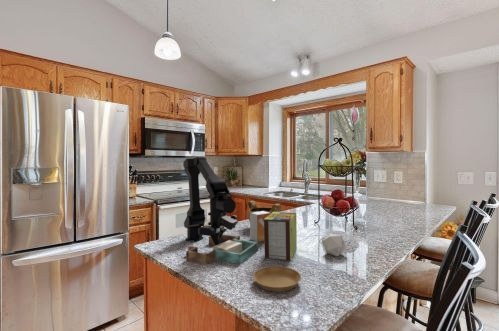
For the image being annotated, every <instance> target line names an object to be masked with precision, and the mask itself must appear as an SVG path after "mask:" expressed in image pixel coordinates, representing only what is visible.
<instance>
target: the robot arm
mask: <svg viewBox="0 0 499 331" xmlns="http://www.w3.org/2000/svg"><path fill="white" fill-rule="evenodd" d="M182 167H183V168H184V169H183V170H184V173H185V174H186V175H187V178H188V190H189V191H188V194H189V195H188V196H189V208H188V210H187V212H186V218H185V219H184V221H183V227H184V228H185V229H187V230H186V232H187V233H186V234H187V235H186V236H187V237H186V238H185V241H189V242H198V241H200V240H203V239H204V236H206V237H209V236H210V237H211V238H212V240H213V242H214V244H215V245H214V246H216V245H218V244H220V242H221V238H222V235H223V234H224V233H225V232H227V230H228V231H231V230H233V229H235V228H236V225H237V224H238V223H239V222H238V216H237V215H236V214H234V215H232V216H230V215H229V216H228V215H227V214H232V213H234V211H235V210H236V206H237V204H236V201H235V200H234V199H232V195H231V194H230V192H231V191H230V190H229V188H228V185H227V182H226V181H225V180H224V179H223V178H222V177H221V176H218V175H217V174H216V173H215V171H214V170H213V169H212V167H211V165H210V164H209V162H208V160H207V158H206V156H205V157H204V156H196V157H193V158H192V157H191V158H185V160H183V164H182ZM200 174H201V176H202V177H203V179H204V180H205V183H206V184H205V189H206V191H207V193H208V194H209V195H208V196H207V199H209V212H207V216H209V217H210V218H209V221H210V222H208V223H207V225H205V222H206V214H205V209H204V208H202V206H201V199H200V198H201V196H200V195H201V194H200V182H199V181H200V180H199V176H200Z"/></svg>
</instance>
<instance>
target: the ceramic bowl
mask: <svg viewBox="0 0 499 331" xmlns="http://www.w3.org/2000/svg"><path fill="white" fill-rule="evenodd" d="M247 206H248V212H247V213H248V215H247V217H248V221H249V223H250V213H253V212H260V211H265V212H269V213H272V212H281V209H282V208H281V204H280V203H274V204H273V205H272V206H257V204H256V201H255V200H250V201H248V202H247Z"/></svg>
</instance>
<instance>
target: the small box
mask: <svg viewBox="0 0 499 331" xmlns="http://www.w3.org/2000/svg"><path fill="white" fill-rule="evenodd" d="M270 214H271V213H269V212H265V211H260V212H253V213H250V222H249V233H250V234H249V240H251V241H252V242H258V243H259V242H264V219H265V218H266V217H267V216H268V215H270Z"/></svg>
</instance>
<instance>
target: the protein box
mask: <svg viewBox="0 0 499 331" xmlns="http://www.w3.org/2000/svg"><path fill="white" fill-rule="evenodd" d="M297 231H298V230H297V213H296V212H284V211H283V212H282V211H279V212H272V213H271V214H270V215H268V216H267V217H266V218H265V219H264V241H263V242H264V259H270V260H280V261H287V262H288V261H289V262H290V261H291V260H292V258H293V256H294V255H295V252H296V250H297V248H298V246H297V241H298V240H297V236H298V235H297Z"/></svg>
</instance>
